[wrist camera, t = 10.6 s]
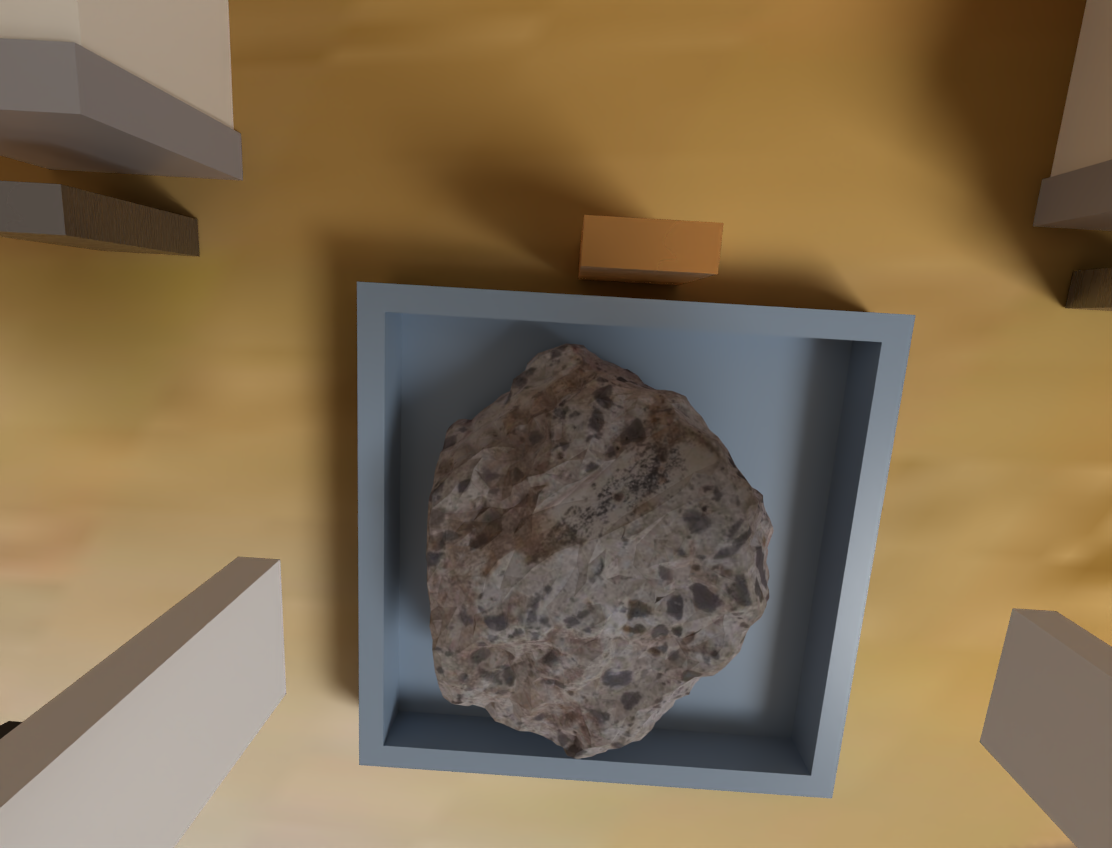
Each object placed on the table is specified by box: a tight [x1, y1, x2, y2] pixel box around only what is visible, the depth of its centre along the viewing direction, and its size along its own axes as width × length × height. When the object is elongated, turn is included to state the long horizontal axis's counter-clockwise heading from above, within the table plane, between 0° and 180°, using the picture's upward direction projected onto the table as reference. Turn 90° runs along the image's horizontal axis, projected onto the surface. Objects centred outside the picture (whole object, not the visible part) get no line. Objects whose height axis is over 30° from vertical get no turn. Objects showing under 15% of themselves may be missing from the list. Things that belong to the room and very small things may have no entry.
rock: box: [426, 343, 774, 759], centre depth 15 cm, size 9×11×4 cm
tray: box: [357, 282, 915, 798], centre depth 17 cm, size 14×14×2 cm
